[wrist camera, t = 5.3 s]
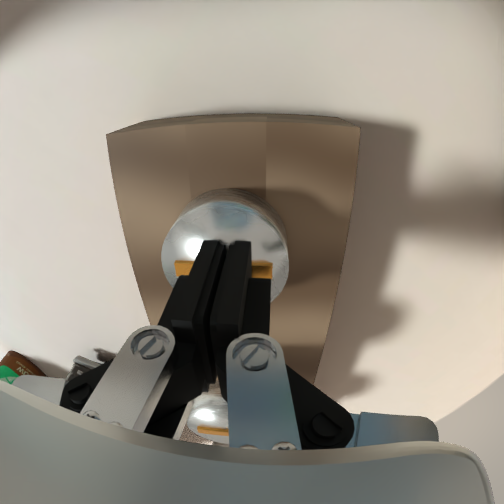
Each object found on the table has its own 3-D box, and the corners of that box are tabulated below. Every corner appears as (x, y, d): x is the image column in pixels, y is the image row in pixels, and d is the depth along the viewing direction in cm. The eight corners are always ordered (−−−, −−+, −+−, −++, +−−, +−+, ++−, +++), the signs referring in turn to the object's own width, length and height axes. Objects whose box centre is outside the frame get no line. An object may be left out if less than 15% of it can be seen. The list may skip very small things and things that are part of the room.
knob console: (143, 121, 13) (105, 134, 10) (337, 117, 13) (360, 127, 9) (202, 404, 28) (197, 435, 25) (293, 409, 28) (294, 441, 24)
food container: (64, 382, 31) (39, 437, 22) (60, 392, 34) (38, 441, 25) (-1, 332, 27) (-32, 382, 19) (1, 348, 30) (-25, 393, 21)
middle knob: (199, 327, 17) (177, 411, 12) (279, 331, 16) (278, 419, 12) (208, 371, 19) (194, 443, 14) (275, 375, 19) (273, 449, 14)
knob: (191, 165, 14) (149, 211, 9) (285, 165, 14) (293, 211, 9) (199, 245, 17) (171, 314, 12) (281, 247, 16) (284, 320, 12)
